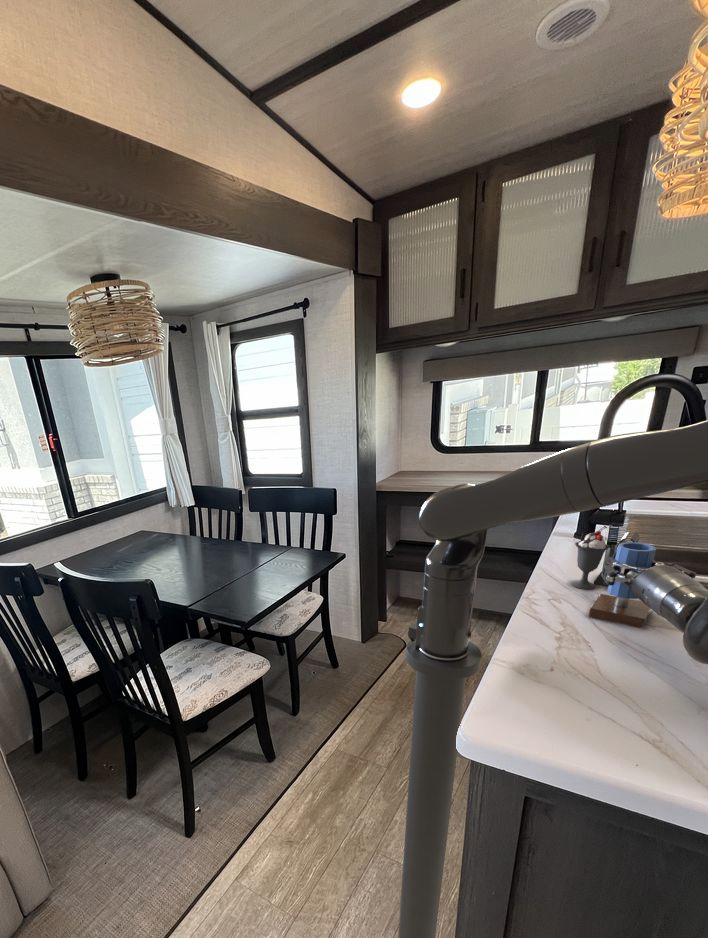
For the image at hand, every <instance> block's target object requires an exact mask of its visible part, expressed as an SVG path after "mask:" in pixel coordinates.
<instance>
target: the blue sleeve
mask: <svg viewBox="0 0 708 938" xmlns="http://www.w3.org/2000/svg"><path fill="white" fill-rule="evenodd" d="M618 544H619V543H618ZM616 551H617V553H616V557H615V560H617V561H618V562H619V563H621V564H632V565H635V566H638V567H645V568H651V566H652V562H653V560H655V554H656V551H657V547H655V546H654V545H652V544H648V543H644V542H638V543H636V542H635V543H634V542H632V541H625V543H620V544H619V545H618V546H617V549H616ZM630 570H631V569H630ZM620 572H621V569H620V568H619V571H618V573H620ZM607 593H608V594H609V595H610V596H615V597H620V598H626V599H632V600H639V599H638V598H637V597H636V595H635V593H634V591H633V589H632V587H630V586H627V585H625V584H624V582H616V583H614V585H609V586H608V587H607Z"/></svg>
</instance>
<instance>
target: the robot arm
mask: <svg viewBox="0 0 708 938" xmlns="http://www.w3.org/2000/svg"><path fill="white" fill-rule="evenodd" d="M706 483H708V419H706V420H702V421H699V422H697V423H694V424H689V425H684V426H680V427H675V428H668V429H659V430H649V431H648V430H647V431H637V432H629V433H622V434H616V435H612V436H607V437H606V436H605V437H603V438H602V437H601V438H599V439H595V440H591V441H589V442H586V443H583V444H580V445H576V446H572V447H571V448H567V449H565V450H561V451H559V452H556V453H554V454H552V455H549V456H546V457H543V458H541V459H539V460H536V461H534V462H532V463H529V464H527V465H524V466H521V467H520V468H518V469H516V470H513V471H511V472H509V473H507V474H504V475H502V476H500V477H497V478H495V479H492V480H489V481H485V482H482V483H478V484H471V483H459V484H455V485H453V486H449V487H446V488H444V489H441V490H439V491H436V492H435V493H433V494H432V495H430V496H429V497H428V498H427V499H426V500H425V501H424V502H423V504H422V506H421V507H420V510H419V513H418V525H419V527H420V529H421V530H422V532H423V533H424V534H425V535H426V536H427V537H429V538H431V539H432V540H435V543H434V545H433V547H432V548H431V550H430V551H429V553H428V554H427V555H426V558H425V561H424V574H423V575H424V576H423V589H422V602H421V605H420V606H419V607H418V608H417V615H416V621H415V622H414V623H412V624H411V625H410V626H408V630H407V638H408V639H409V641H410V640H411V641H412V642H413V641H415V639H416V644H415V650H418V651H420V652H421V653H422V654H423V655H424V656H426V657H428V658H430V659H433V660H437V661H443V662H454V661H459V660H462V659H464V658H465V657H466V656H467V655H468V647H469V641H471V639H472V632H471V627H472V619H473V611H474V601H475V594H476V584H477V577H478V576H477V575H478V569H479V564H480V562H481V560H482V559H483V556H484V553H485V549H486V548H485V547H486V542H487V536H488V530H489V529H493V528H496V527H499V526H505V525H509V524H516V523H522V522H530V521H536V520H543V519H548V518H554V517H560V516H566V515H571V514H576V513H581V512H587V511H590V510H591V511H592V510H596V509H599V508H604V507H605V508H606V507H609V506H613V505H617V504H621V503H624V502H628V501H629V502H630V501H632V500H637V499H642V498H646V497H650V496H656V495H660V494H664V493H667V492H672V491H675V490H679V489H683V488H687V487H692V486H696V485H701V484H706ZM619 568H620V569H621V572H620V573H618V571H619ZM630 569H631V570H630ZM601 571H602V573H601V576H602V578H603V579H604V581H605V583H606V584H607V585H614V583H616V582H624V584H625V585H627V586H630V587H632V589H633V591H634V593H635V595H636V597H637V598H638V599H637V600H638V601H642V602H643V603H644V604H645V605H647V606H648V607H649V608H650V611H652V612H654V613H655V614H656V615H658V616H660V617H661V618H663V619H664V620H666V621H667V622H668V623H670V624H671V625H672V626H673V627H674V628H676V629H677V630H678V631H680V632H682V633H683V634H682V641H683V642H682V644H683V647H684V649H685V651H686V653H687V655H688V656H689V657H690V658H691V659H692V660H694V661H695V662H697V663H699V664H702V665H708V588H706V587H705V586H704V585H703V584H701V583H700V582H699V581H698V580H696V576H697V572H695V571H692V570H690V569H688V568H687V567H686V568H685V567H684V566H681V565H679V564H677V563H674V562H671V563H668V564H665V563H664V562H661V561H656V560H655V559H653V562H652V566H651V568H645V567H638V566H635V565H632V564H621V563H619V562H618V561H617V560H615V559H614V558H613V557H612V556H607V558H605V560H604V563H602V569H601Z"/></svg>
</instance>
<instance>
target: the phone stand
mask: <svg viewBox="0 0 708 938" xmlns="http://www.w3.org/2000/svg"><path fill="white" fill-rule="evenodd" d="M630 535H631V531H627V532H625V534H624V535H623V536H622V538H621V539H620V540H619V542H618V545H619V544H620V543H625V542H626V540H627V539H628V537H629V536H630ZM639 540H640V534H638V532H637V531H636V532H634V533H633V535H632V536H631V538H630V542H634V543H635V542H636V543H639ZM616 553H617V550H616V551H615V552H614V554H613V555H612V556H611V557H613V558H614V559H615V557H616ZM601 573H602V570H601V571H600V572H599V573H598V575H597V576H596V578H595V580H594V581H593V582H592V583H593V584H595V586H603V587H607V588H608V586H609V585H607V584H606V583H605V581H604V579H603V578H602V576H601Z"/></svg>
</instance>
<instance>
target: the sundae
mask: <svg viewBox="0 0 708 938" xmlns="http://www.w3.org/2000/svg"><path fill="white" fill-rule="evenodd" d="M607 528H608V526H606V525H603V527H601V528H600V529H599V530H595V532H590V533H588V534H587V533H584V532H583V533H581V536H580V540H579V541H577V542H574V545H575V547H576V548H577V560H576V562H577V564H576V565H577V567H578V568H579V570H580V571H582V575H581V579H580V580H574V581H571V584H570V585H571V586H572V587H574V588H577V589H581V590H593V589H595V588H596V586H597V585H595V584H594V583H593V582H591V581H589V574H590V573H591V572H594V571H595V570H596V569H598V567H599V565H600V564H601V561H602V559H603V556H604V554H605V552H606V551H608V550H609V549H610V547H611V545H610V544H607V543H606V541H605V540H604V539H603V538H604V536H603V535H602V531H603V530H604V529H605V530H606V529H607Z"/></svg>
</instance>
